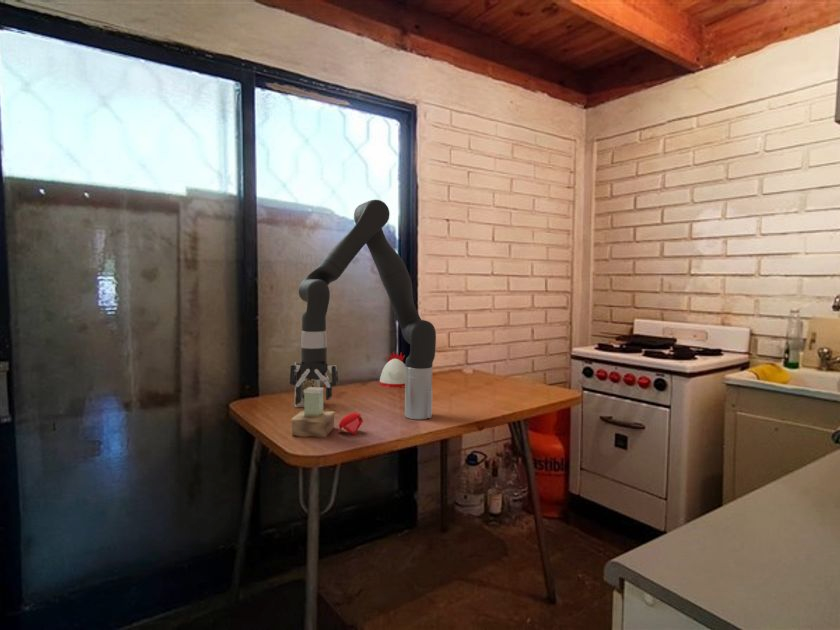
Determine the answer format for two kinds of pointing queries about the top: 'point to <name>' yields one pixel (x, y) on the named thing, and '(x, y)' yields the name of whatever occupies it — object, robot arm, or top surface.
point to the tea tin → (313, 402)
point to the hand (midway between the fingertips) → (314, 399)
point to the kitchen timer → (393, 372)
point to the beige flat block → (313, 424)
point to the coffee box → (304, 386)
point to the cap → (351, 423)
